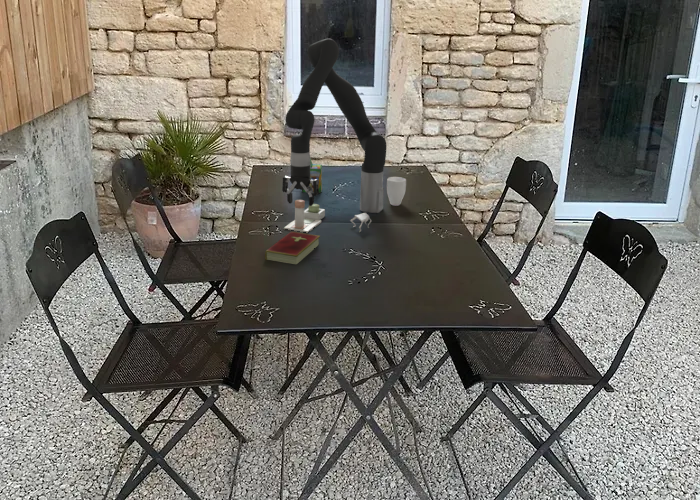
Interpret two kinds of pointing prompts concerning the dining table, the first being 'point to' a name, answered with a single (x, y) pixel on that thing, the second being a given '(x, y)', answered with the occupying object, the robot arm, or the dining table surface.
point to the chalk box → (315, 175)
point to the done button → (314, 208)
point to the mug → (396, 189)
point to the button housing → (314, 214)
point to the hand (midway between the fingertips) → (300, 204)
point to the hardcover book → (292, 248)
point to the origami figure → (361, 219)
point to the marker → (299, 213)
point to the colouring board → (308, 225)
